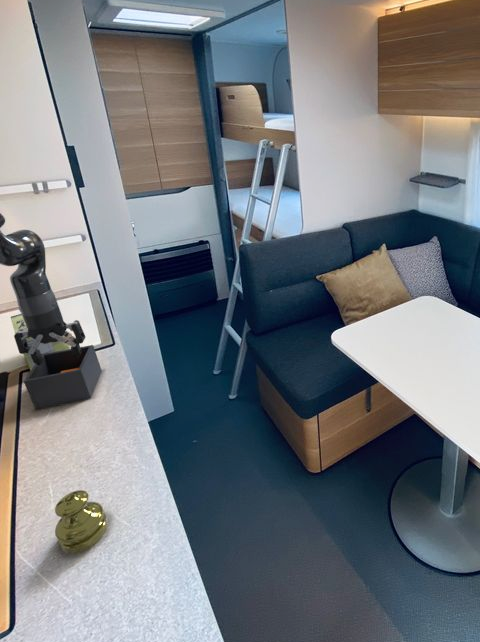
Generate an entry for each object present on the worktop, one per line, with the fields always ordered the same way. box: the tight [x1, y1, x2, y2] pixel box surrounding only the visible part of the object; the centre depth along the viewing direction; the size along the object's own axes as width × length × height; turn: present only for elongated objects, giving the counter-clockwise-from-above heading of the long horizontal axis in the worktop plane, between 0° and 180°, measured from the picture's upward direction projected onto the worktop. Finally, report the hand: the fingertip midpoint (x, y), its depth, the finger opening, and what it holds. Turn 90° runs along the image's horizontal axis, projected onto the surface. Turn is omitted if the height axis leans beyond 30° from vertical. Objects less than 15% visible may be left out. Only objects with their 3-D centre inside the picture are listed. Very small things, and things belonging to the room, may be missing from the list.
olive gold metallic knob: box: [54, 489, 109, 555], centre depth 75 cm, size 7×7×10 cm
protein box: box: [10, 313, 71, 372], centre depth 125 cm, size 10×16×16 cm
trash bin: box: [23, 344, 103, 411], centre depth 113 cm, size 13×13×10 cm
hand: (59, 359), depth 111 cm, fingers open, 8 cm apart
